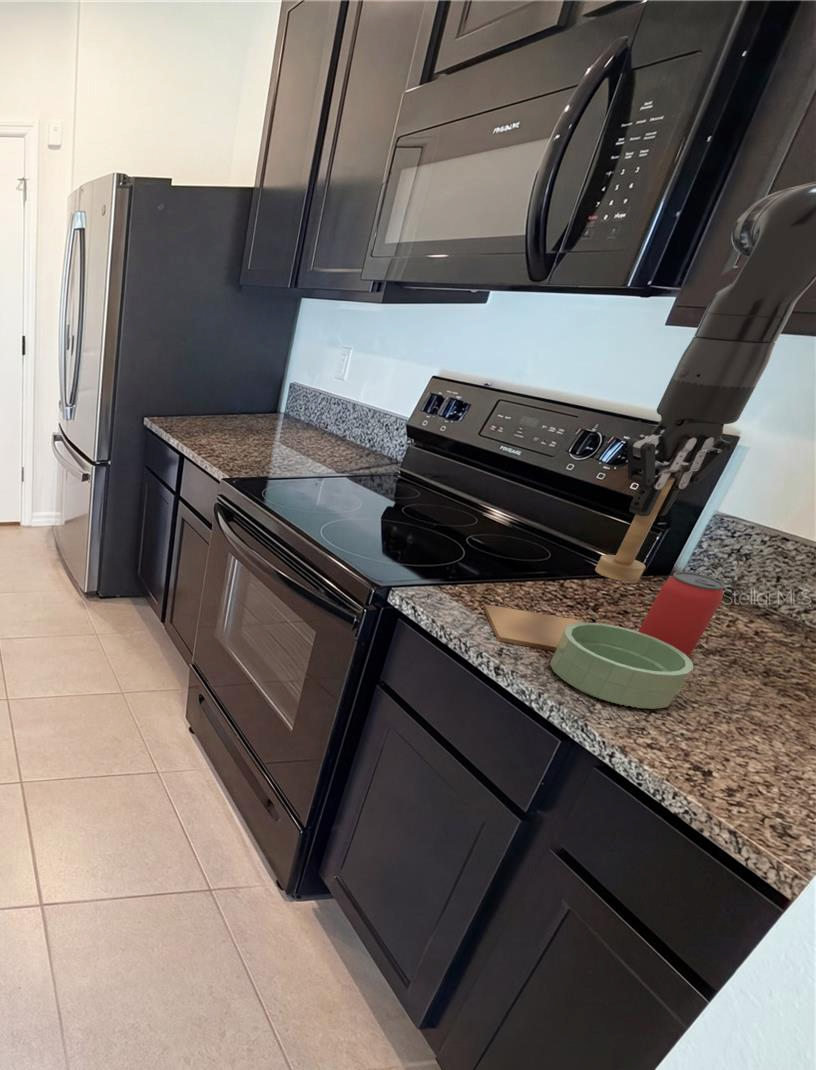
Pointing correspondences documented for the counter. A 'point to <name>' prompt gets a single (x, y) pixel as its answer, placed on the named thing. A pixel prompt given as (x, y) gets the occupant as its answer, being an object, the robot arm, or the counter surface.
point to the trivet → (527, 627)
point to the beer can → (683, 610)
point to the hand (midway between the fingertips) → (646, 513)
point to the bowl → (620, 665)
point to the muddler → (632, 545)
